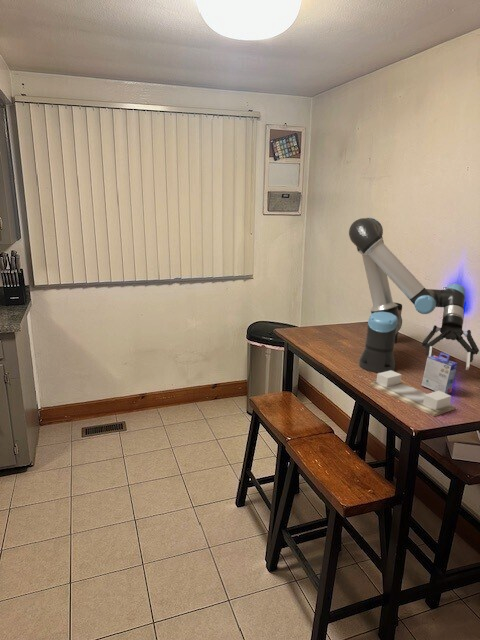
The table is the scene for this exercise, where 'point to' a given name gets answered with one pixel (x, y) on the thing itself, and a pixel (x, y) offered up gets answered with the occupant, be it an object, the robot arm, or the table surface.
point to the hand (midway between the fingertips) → (447, 365)
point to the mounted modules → (431, 399)
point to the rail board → (410, 397)
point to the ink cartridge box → (439, 373)
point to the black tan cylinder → (400, 314)
